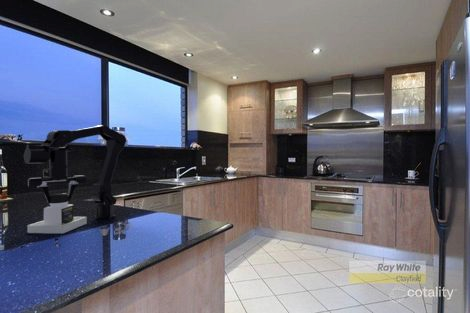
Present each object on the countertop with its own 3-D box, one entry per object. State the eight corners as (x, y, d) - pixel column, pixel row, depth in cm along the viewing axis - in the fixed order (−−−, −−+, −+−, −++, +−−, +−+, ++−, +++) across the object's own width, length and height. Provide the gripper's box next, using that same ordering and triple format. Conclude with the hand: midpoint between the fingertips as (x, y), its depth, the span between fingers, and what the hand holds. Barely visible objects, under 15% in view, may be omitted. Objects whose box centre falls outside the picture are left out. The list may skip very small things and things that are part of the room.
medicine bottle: (61, 226, 98) (61, 195, 97) (43, 226, 98) (42, 195, 98) (74, 221, 105) (73, 192, 105) (56, 221, 105) (56, 192, 105)
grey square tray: (86, 223, 107) (86, 216, 107) (63, 233, 94) (63, 225, 94) (55, 223, 108) (55, 216, 108) (27, 232, 95) (27, 225, 95)
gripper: (81, 161, 113) (81, 197, 113) (26, 163, 101) (27, 202, 101) (87, 162, 105) (87, 200, 105) (28, 163, 92) (29, 207, 93)
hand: (59, 202), depth 101 cm, fingers closed on medicine bottle, 6 cm apart
